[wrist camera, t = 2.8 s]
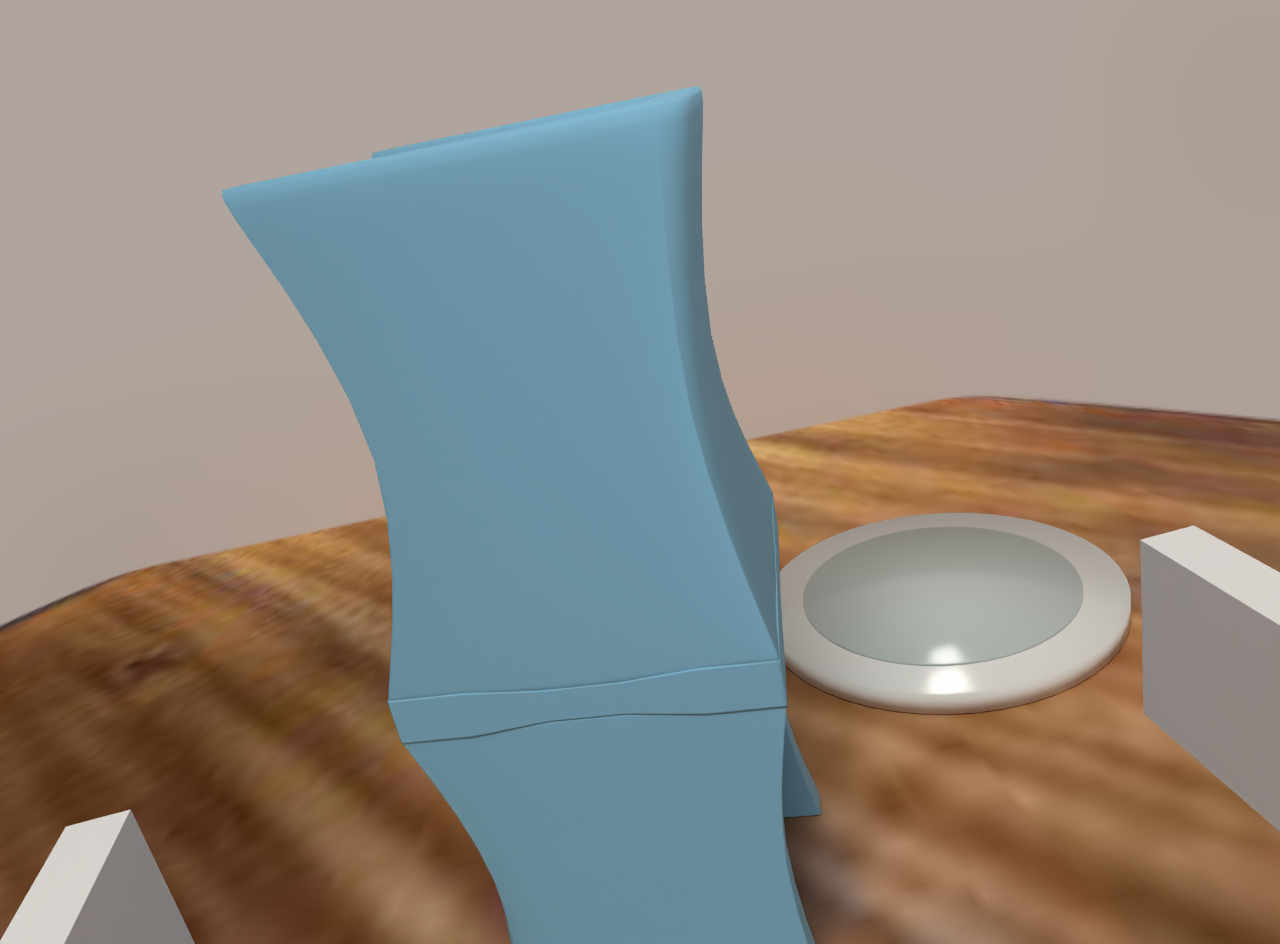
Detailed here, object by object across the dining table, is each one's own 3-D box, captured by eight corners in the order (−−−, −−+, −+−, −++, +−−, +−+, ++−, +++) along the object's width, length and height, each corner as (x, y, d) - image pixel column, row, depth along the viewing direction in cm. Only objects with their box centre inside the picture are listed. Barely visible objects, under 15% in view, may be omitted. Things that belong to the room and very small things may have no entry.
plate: (698, 636, 39) (695, 616, 38) (901, 506, 46) (900, 489, 45) (998, 768, 29) (995, 743, 28) (1198, 577, 36) (1198, 555, 35)
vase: (563, 814, 31) (379, 150, 23) (819, 793, 29) (708, 82, 22) (505, 1048, 23) (213, 191, 16) (841, 1035, 22) (686, 94, 15)
